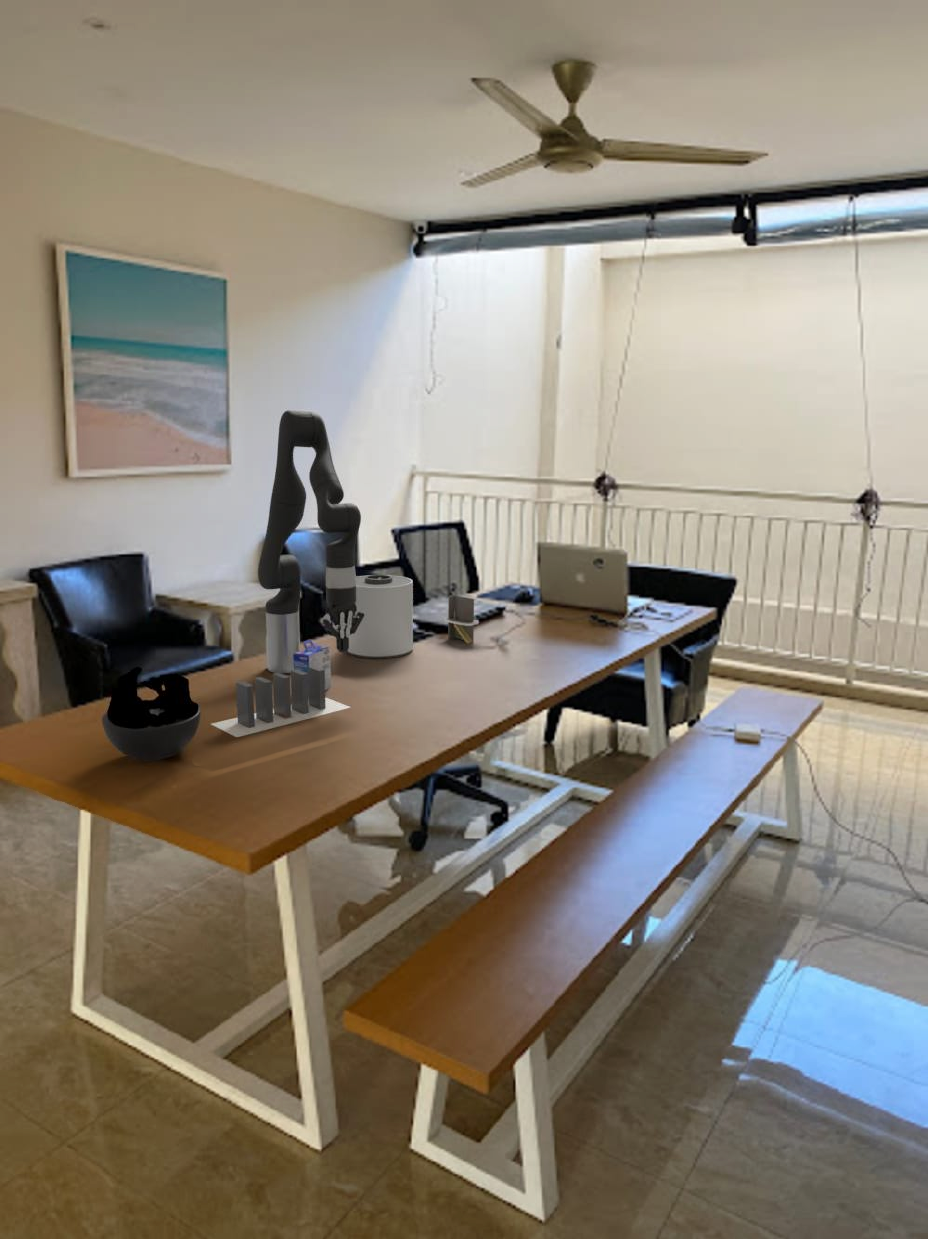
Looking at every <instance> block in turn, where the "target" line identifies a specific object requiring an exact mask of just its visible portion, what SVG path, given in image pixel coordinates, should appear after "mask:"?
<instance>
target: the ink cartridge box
mask: <svg viewBox="0 0 928 1239" xmlns="http://www.w3.org/2000/svg"><path fill="white" fill-rule="evenodd" d="M308 643H309V644H310V645H307V644H308ZM302 644H303V647H304V649H302V650H301V649H300V651H299V652H296V653H294V654H293V659H294V670H295V669H297V670H299V671H302V672H305V673H307V674H308V667H309V666H316V667H318V668H321V669H324V670H325V691H327V690H328V689H331V688H332V674H331V650H330V648H331V647H329V646H326V645H325V646H323V645H319V644H314V643H313V641H312V639H310V638H309V639H307V640H304V641H303V642H302ZM308 698H309V695H308Z"/></svg>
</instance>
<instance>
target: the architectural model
mask: <svg viewBox="0 0 928 1239" xmlns="http://www.w3.org/2000/svg"><path fill="white" fill-rule="evenodd" d="M447 612H448V616H447V617H446V616H445V617H443V618H442V620H443V622H447V624H448V626H447V627H448V629H447V630H448V631H447V632H448V633H447V634H448V635H447V638H448V639H449V640H451V639H460V640H463V641H464V642H465V643H466V644H470V643H474V641H475V640H474V638H475V637H474V634H475V633H474V631H475V630H474V627H475V625H479V624H480V621H479V619H475V599H474V598H472V597H466V596H461V595H456V594H455V595H453V594H452V595H450V596H448V611H447Z"/></svg>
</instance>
